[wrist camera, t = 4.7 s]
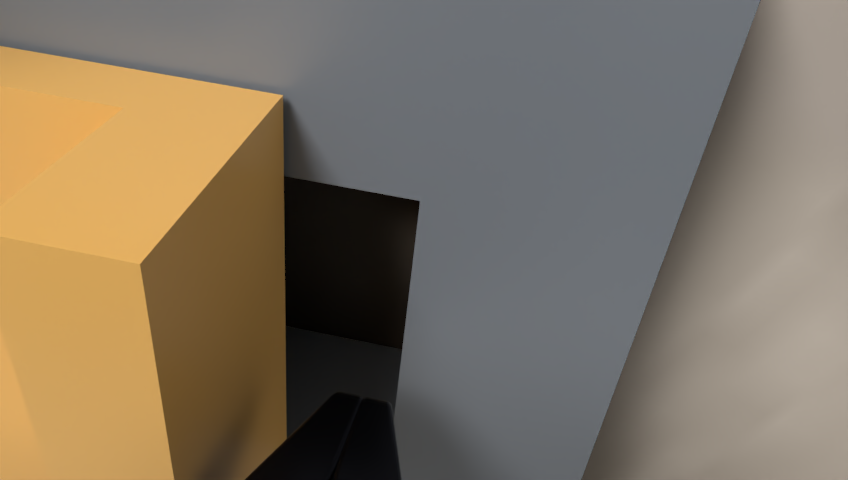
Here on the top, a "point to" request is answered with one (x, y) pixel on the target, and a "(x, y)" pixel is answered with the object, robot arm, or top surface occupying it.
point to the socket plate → (465, 185)
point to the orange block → (138, 274)
